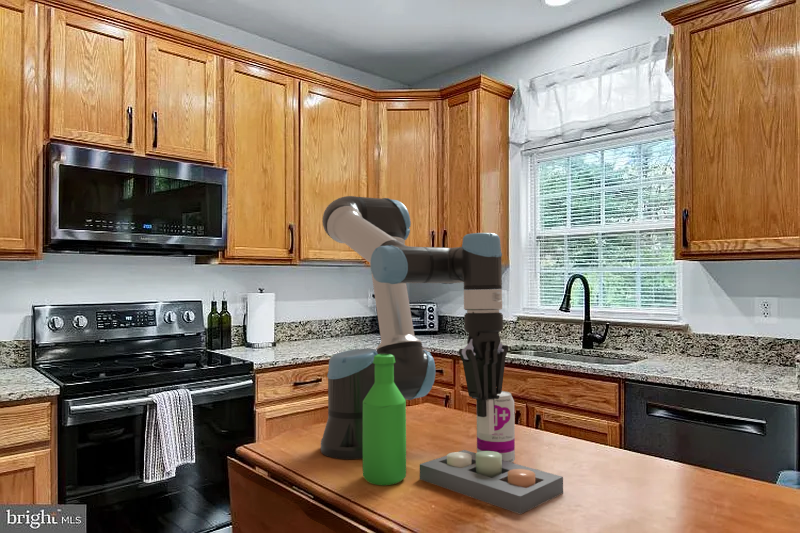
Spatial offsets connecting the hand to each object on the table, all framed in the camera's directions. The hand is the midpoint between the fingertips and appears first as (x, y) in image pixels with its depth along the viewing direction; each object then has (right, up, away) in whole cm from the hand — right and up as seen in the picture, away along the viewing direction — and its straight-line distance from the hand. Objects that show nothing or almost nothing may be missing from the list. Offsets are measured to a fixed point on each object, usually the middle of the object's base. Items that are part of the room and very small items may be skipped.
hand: (486, 432), depth 110 cm
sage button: (0, -8, 0) cm, 8 cm away
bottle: (-20, -11, +4) cm, 23 cm away
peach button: (+6, -9, -6) cm, 12 cm away
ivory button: (-5, -10, +5) cm, 12 cm away
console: (+1, -10, 0) cm, 10 cm away
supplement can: (+4, -11, +15) cm, 19 cm away
